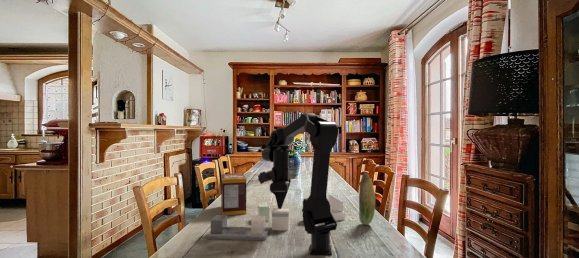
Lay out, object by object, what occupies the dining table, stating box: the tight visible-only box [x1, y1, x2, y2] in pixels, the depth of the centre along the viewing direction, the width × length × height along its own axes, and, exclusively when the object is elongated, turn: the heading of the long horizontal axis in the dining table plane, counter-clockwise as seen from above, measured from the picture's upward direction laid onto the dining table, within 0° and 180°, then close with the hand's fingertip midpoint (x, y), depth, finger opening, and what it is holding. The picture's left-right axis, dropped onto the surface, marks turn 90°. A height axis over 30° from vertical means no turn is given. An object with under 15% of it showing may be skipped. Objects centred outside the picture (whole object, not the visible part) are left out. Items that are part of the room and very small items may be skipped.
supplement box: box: [220, 173, 247, 216], centre depth 133 cm, size 10×15×16 cm
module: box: [271, 207, 290, 232], centre depth 109 cm, size 4×6×7 cm
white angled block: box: [328, 194, 346, 222], centre depth 120 cm, size 4×10×9 cm, turn 106°
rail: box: [206, 214, 270, 241], centre depth 102 cm, size 8×20×6 cm, turn 86°
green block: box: [257, 202, 270, 222], centre depth 119 cm, size 5×4×6 cm
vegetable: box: [358, 173, 376, 226], centre depth 113 cm, size 6×6×20 cm
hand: (280, 205), depth 109 cm, fingers open, 9 cm apart
